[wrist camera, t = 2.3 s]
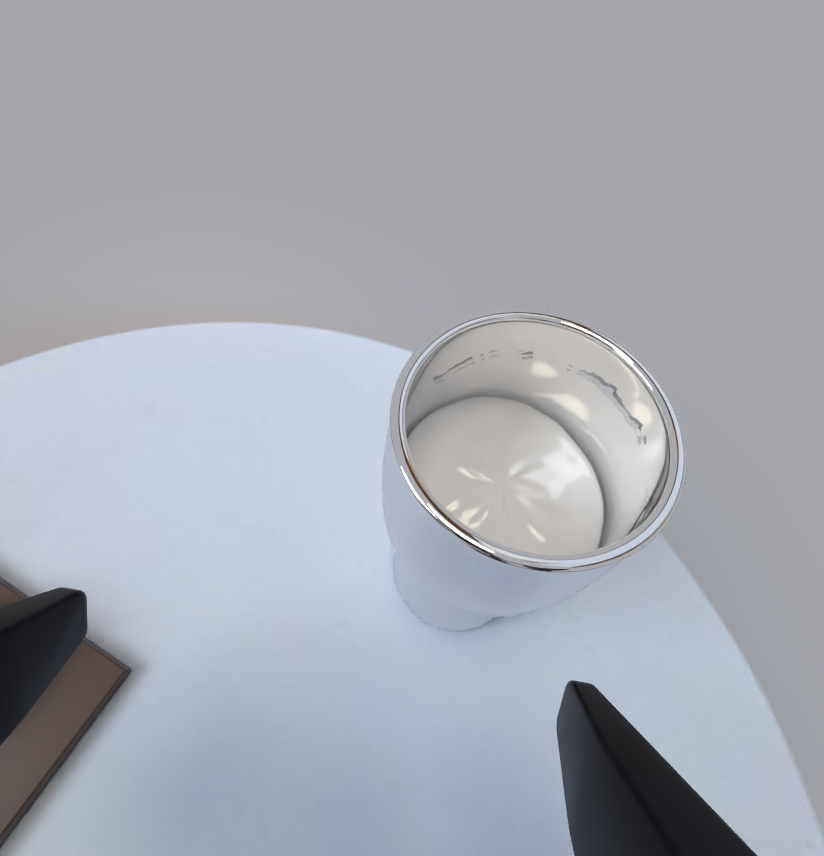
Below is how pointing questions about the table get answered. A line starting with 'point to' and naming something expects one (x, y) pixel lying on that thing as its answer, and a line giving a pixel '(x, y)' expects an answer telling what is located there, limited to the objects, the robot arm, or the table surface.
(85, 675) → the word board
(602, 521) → the silver metal cup
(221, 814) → the table surface
